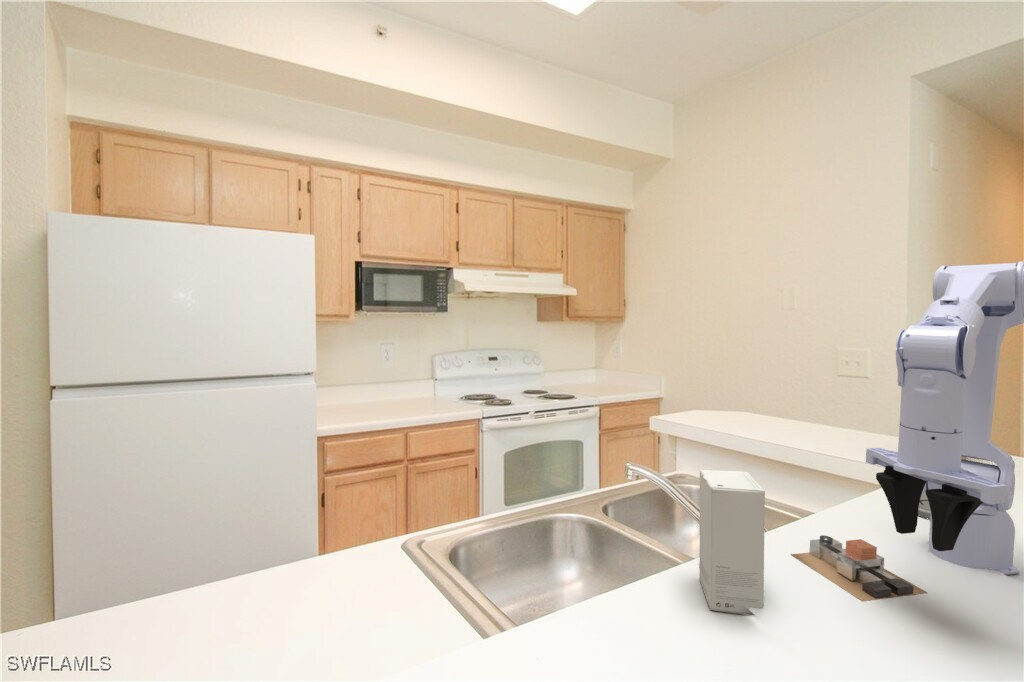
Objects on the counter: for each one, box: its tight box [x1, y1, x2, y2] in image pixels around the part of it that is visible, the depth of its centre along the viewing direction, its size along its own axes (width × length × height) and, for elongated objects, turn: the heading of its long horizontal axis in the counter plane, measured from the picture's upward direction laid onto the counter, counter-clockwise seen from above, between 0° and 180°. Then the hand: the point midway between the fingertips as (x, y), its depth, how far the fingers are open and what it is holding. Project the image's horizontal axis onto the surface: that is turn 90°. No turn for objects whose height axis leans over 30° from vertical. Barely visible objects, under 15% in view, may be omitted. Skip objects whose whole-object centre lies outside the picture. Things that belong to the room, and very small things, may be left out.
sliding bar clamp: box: [809, 535, 914, 598], centre depth 68 cm, size 6×12×3 cm, turn 11°
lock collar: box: [837, 538, 885, 580], centre depth 67 cm, size 5×2×4 cm, turn 101°
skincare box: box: [698, 469, 766, 616], centre depth 64 cm, size 8×7×16 cm
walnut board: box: [790, 548, 929, 602], centre depth 68 cm, size 10×12×1 cm
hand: (923, 540), depth 59 cm, fingers open, 4 cm apart
